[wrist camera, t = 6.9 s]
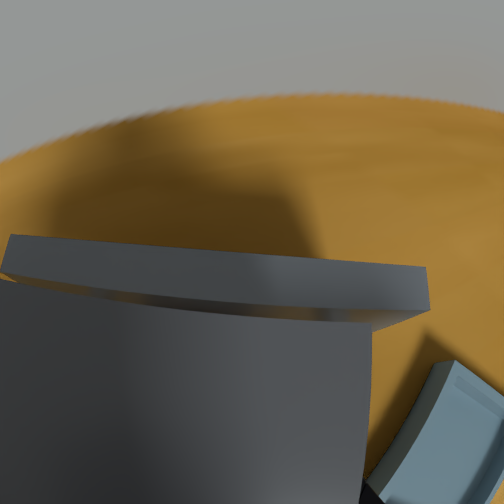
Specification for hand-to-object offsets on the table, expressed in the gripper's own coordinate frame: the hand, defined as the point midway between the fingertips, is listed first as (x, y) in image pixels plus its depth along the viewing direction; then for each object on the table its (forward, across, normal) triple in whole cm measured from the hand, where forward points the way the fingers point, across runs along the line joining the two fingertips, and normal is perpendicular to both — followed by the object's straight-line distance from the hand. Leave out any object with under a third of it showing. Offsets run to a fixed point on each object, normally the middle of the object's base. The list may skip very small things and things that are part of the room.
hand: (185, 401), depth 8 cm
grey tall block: (+4, 0, +6) cm, 7 cm away
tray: (+2, -18, +12) cm, 21 cm away
